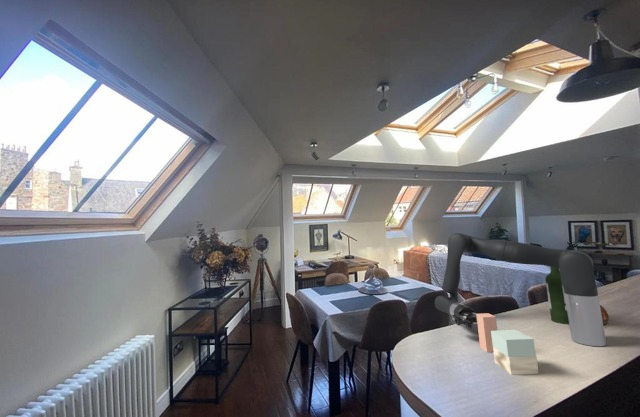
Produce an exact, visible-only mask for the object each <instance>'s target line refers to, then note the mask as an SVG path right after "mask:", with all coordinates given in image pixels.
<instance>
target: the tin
mask: <svg viewBox="0 0 640 417" xmlns="http://www.w3.org/2000/svg"><path fill="white" fill-rule="evenodd" d="M600 309H601V315H602V321H603V325H607V324H609V321H610V317H609V313H608V311H607V309H606V308H605V307H604V306H603V305H601V304H600Z"/></svg>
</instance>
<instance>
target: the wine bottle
mask: <svg viewBox="0 0 640 417" xmlns="http://www.w3.org/2000/svg"><path fill="white" fill-rule="evenodd" d="M549 267H550V266H549ZM544 281H545V287H546V293H547V300H548V305H549V306H548V307H549V314H550V320H551V321H552V322H554V323H557V324H562V325H563V324H564V325H569V320H568V313H567V306H566V300H565V294H564V288H563V285H562V281H561V275H560V269H558V268H554V267H550V272H549V273H548V274H547V275H546V276H545V280H544Z"/></svg>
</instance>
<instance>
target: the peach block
mask: <svg viewBox="0 0 640 417" xmlns="http://www.w3.org/2000/svg"><path fill="white" fill-rule="evenodd" d="M476 316H477V323H476V324H477V330H478V340H479V348H480V349H482V350H483V351H484V352H486V353H494V351H493V344H492V336H491V331H498V324H497V316H495V315H493V314H490V313H487V312H486V313H485V312H484V313H476Z"/></svg>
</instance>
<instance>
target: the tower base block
mask: <svg viewBox="0 0 640 417" xmlns="http://www.w3.org/2000/svg"><path fill="white" fill-rule="evenodd" d="M493 351H494V352H493V357H494V364H496V365H497V366H499V367H500V368H502V369H503V370H504V371H506V372H507V373H508V374H510V376H515V375H516V376H517V375H539V374H540V373H539V372H540V371H539V366H538V359H537V355H536V356H533V357H507V356H506V355H504V354H503V353H501V352H500V351H499V350H497V349H496V348H494V347H493Z"/></svg>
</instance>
